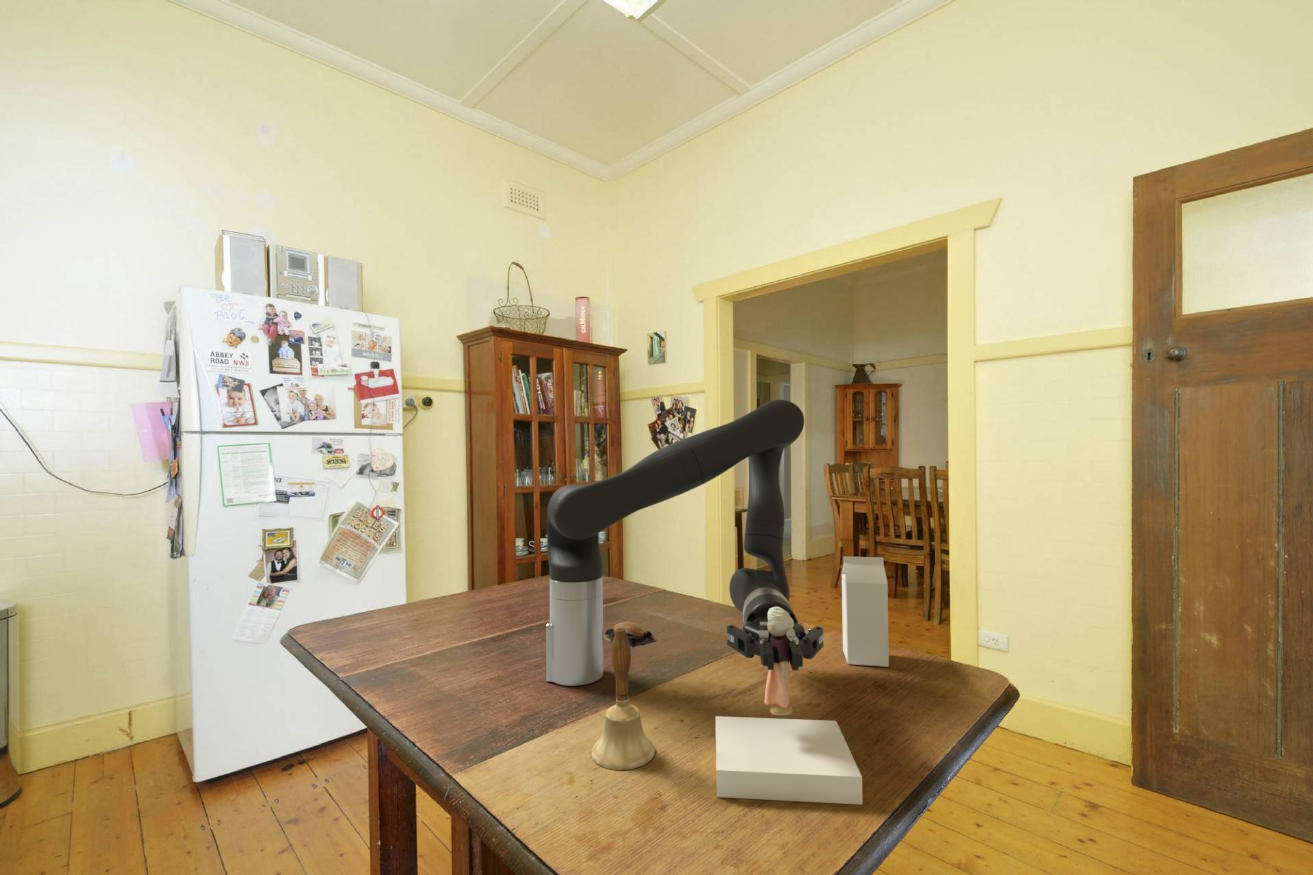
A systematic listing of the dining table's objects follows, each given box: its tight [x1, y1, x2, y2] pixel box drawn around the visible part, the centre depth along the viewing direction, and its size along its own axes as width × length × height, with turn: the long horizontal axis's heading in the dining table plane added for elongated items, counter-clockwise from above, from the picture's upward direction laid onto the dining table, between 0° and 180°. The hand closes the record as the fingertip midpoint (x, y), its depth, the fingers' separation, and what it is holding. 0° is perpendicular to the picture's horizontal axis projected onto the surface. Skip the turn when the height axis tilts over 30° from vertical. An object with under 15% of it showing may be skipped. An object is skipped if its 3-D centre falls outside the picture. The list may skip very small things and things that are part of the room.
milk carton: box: [841, 556, 890, 668], centre depth 105 cm, size 7×7×19 cm
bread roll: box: [603, 620, 656, 649], centre depth 118 cm, size 11×8×4 cm
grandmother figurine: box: [764, 607, 794, 716], centre depth 71 cm, size 8×4×13 cm, turn 5°
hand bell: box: [590, 628, 656, 771], centre depth 73 cm, size 8×8×16 cm
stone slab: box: [715, 715, 864, 805], centre depth 69 cm, size 16×13×3 cm
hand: (783, 662), depth 68 cm, fingers closed on grandmother figurine, 2 cm apart
